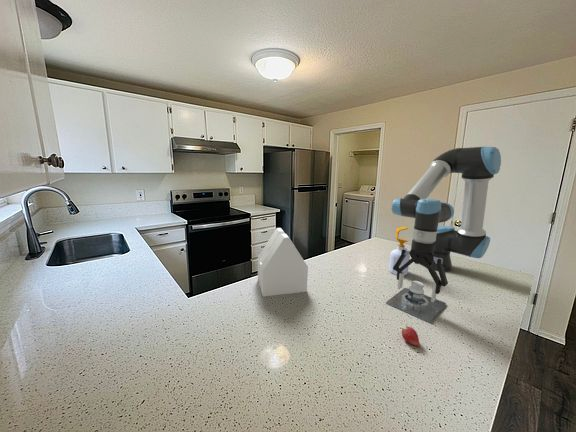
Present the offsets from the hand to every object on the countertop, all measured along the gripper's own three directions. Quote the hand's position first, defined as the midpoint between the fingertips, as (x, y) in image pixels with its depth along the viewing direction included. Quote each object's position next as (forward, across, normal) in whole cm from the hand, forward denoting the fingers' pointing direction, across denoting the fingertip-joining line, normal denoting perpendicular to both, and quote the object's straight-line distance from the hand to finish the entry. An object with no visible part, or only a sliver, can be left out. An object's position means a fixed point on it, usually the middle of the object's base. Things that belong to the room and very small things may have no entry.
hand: (415, 293), depth 92 cm
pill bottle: (+4, 0, 0) cm, 5 cm away
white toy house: (+6, -46, -30) cm, 55 cm away
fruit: (+5, +7, -22) cm, 24 cm away
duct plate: (+5, 0, +2) cm, 6 cm away
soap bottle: (+5, -18, +27) cm, 33 cm away
